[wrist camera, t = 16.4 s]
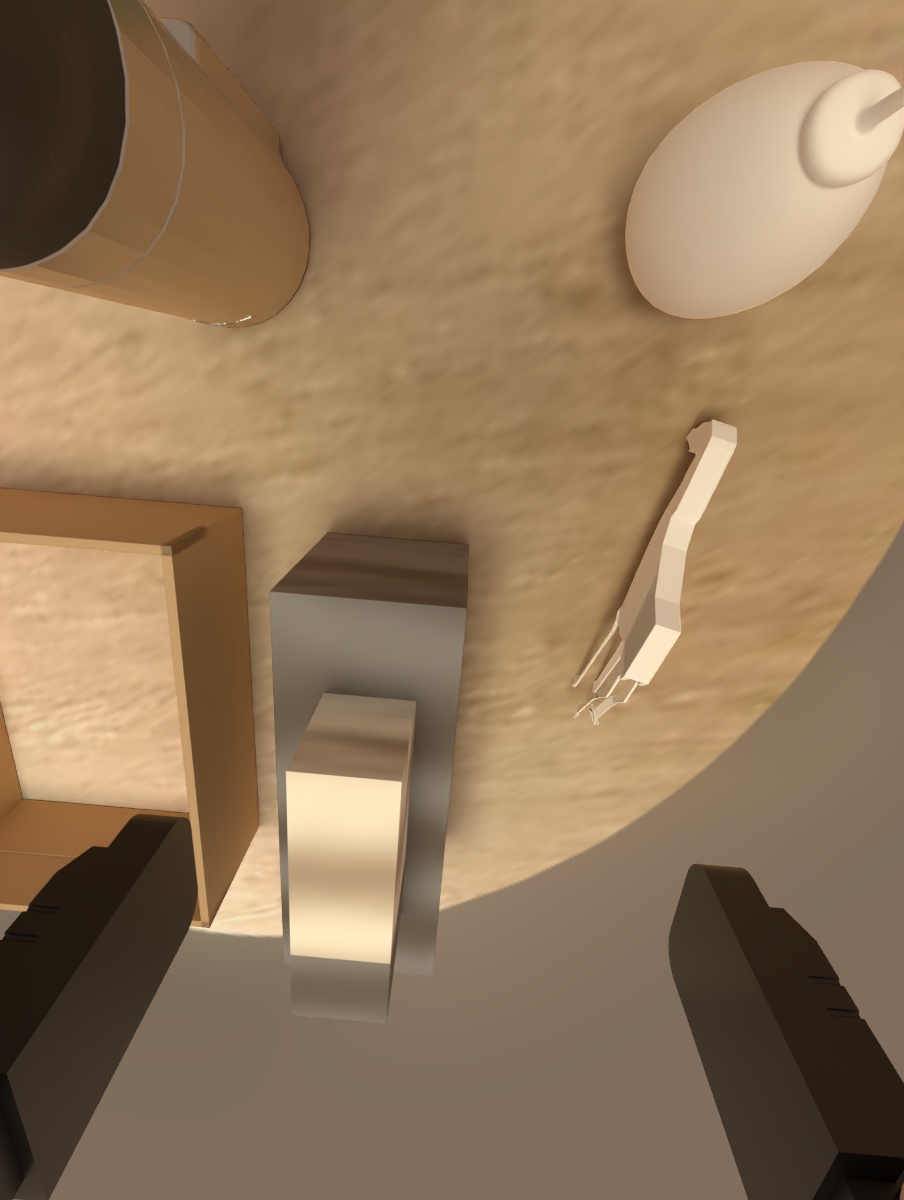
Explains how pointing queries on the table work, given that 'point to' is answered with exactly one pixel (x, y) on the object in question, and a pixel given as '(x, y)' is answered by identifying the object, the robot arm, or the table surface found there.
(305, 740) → the block
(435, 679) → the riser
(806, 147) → the sauce bottle
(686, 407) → the table surface
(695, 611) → the table surface
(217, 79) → the robot arm
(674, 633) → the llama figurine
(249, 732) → the carton
